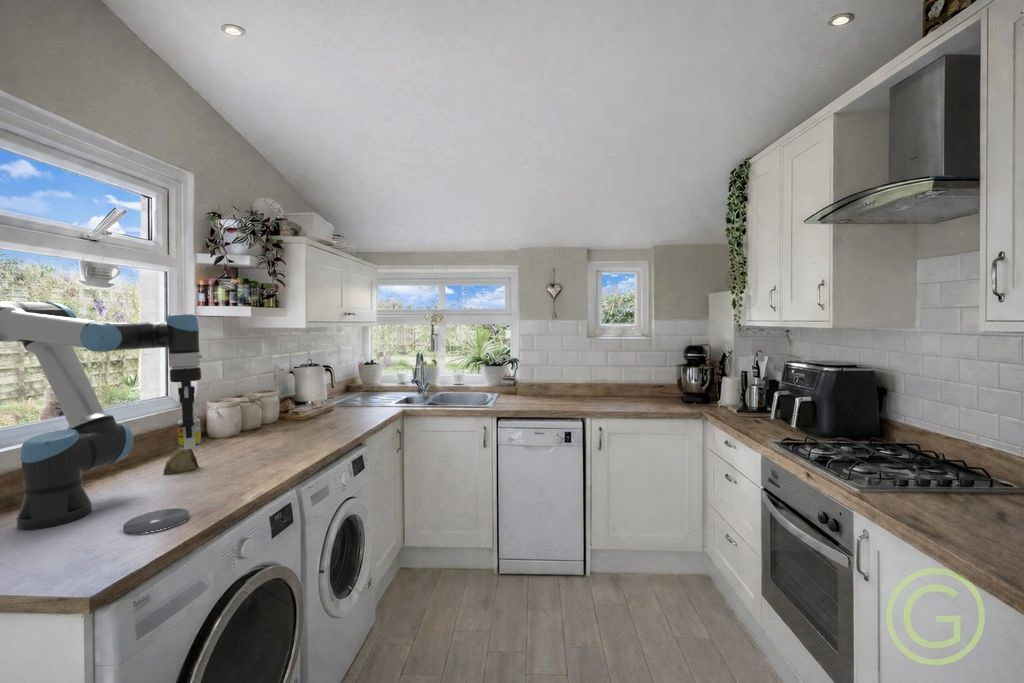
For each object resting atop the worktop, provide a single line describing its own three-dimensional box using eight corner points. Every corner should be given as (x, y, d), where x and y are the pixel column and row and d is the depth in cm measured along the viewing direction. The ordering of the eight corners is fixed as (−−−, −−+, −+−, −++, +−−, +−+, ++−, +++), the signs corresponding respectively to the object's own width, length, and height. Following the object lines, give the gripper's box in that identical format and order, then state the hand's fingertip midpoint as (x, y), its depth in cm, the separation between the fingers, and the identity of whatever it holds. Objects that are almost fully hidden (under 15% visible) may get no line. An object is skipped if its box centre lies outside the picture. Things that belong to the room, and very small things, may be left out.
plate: (120, 539, 120) (119, 534, 120) (127, 520, 132) (126, 516, 132) (188, 525, 128) (188, 520, 127) (189, 508, 139) (189, 504, 139)
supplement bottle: (174, 448, 142) (172, 413, 142) (194, 444, 147) (192, 410, 147) (185, 450, 140) (183, 415, 139) (205, 446, 144) (203, 411, 144)
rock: (155, 471, 170) (185, 465, 172) (158, 449, 175) (188, 443, 176) (171, 481, 179) (199, 475, 180) (173, 460, 183) (201, 454, 185)
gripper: (200, 368, 137) (205, 450, 138) (200, 364, 152) (204, 438, 153) (167, 370, 132) (173, 455, 134) (171, 366, 148) (175, 442, 149)
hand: (190, 446), depth 143 cm, fingers closed on supplement bottle, 6 cm apart
